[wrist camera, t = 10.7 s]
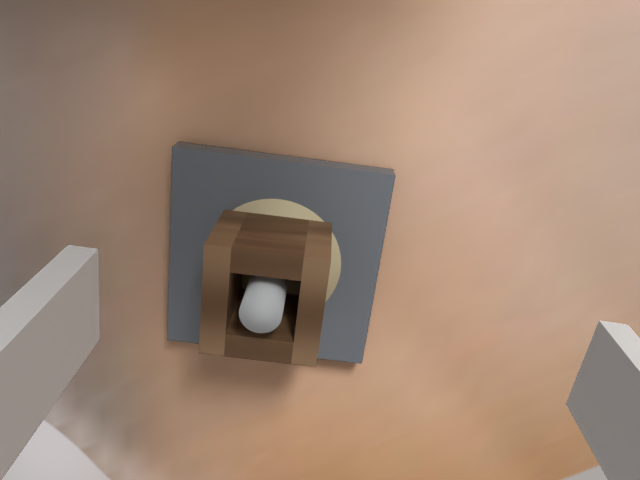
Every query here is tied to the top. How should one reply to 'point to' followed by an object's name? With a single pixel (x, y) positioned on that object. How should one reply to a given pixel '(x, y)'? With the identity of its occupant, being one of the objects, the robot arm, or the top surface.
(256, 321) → the post block
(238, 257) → the collar
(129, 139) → the top surface
